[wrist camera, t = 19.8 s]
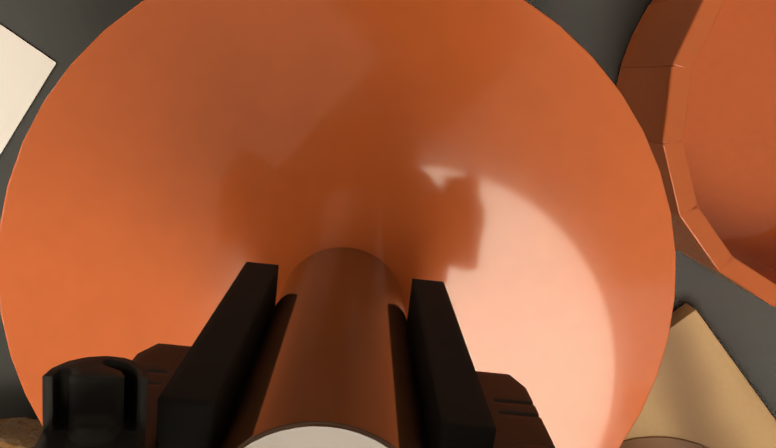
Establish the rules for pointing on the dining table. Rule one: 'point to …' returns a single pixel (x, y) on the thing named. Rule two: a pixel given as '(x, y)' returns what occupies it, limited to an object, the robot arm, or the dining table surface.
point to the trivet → (700, 396)
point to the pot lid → (345, 210)
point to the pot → (712, 129)
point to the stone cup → (19, 432)
